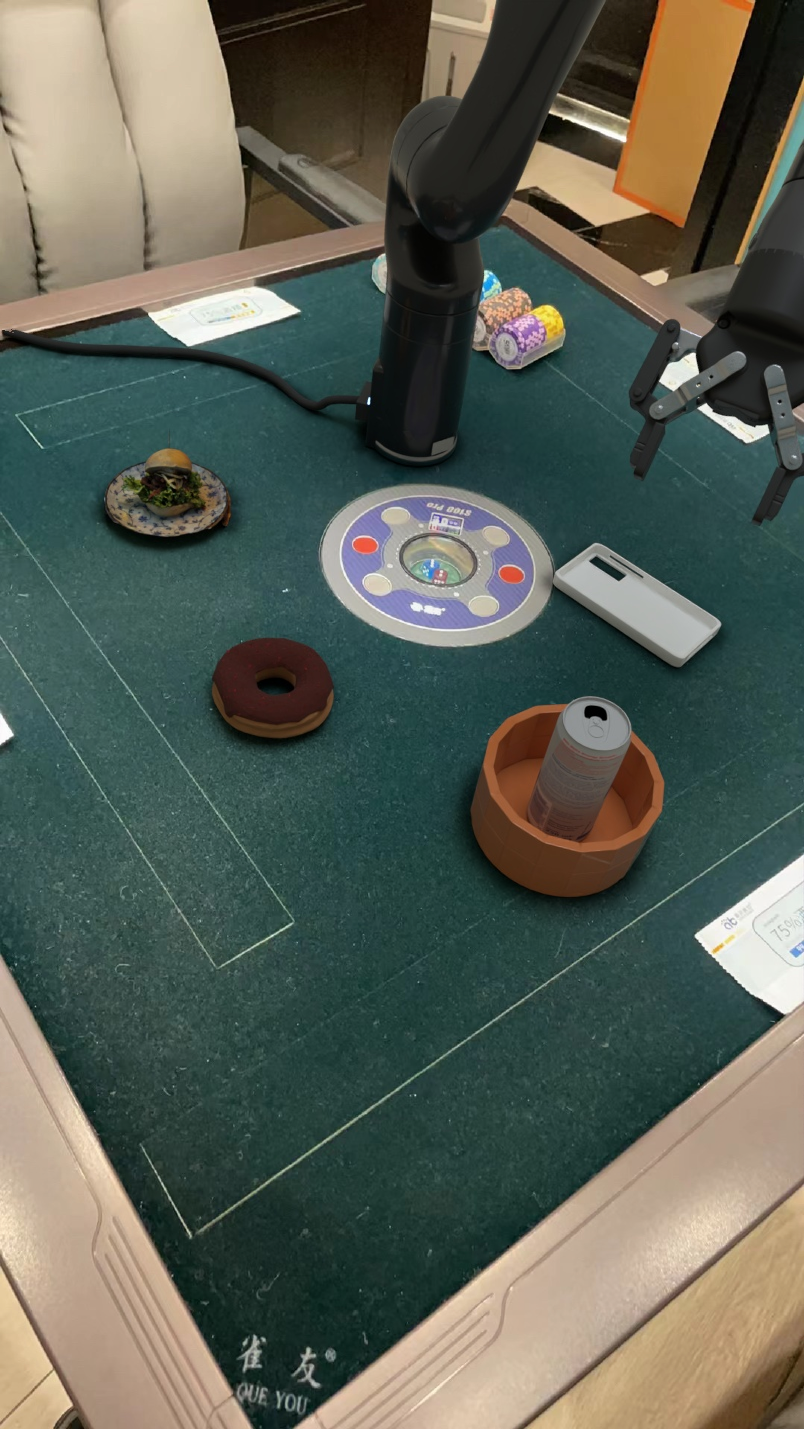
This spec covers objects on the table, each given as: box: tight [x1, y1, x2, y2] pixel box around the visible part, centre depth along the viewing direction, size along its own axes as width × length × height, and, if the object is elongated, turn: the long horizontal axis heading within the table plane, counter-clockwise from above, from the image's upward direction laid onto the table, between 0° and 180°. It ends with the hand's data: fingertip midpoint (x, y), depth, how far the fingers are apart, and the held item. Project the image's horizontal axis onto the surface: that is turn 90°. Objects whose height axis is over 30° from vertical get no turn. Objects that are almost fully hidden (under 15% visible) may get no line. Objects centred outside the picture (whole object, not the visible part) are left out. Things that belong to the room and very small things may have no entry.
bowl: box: [470, 703, 665, 898], centre depth 81 cm, size 14×14×6 cm
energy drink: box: [527, 695, 632, 842], centre depth 79 cm, size 5×5×12 cm
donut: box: [211, 637, 335, 739], centre depth 87 cm, size 10×10×4 cm
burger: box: [103, 428, 232, 538], centre depth 100 cm, size 12×12×8 cm
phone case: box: [552, 542, 722, 668], centre depth 100 cm, size 7×1×15 cm
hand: (695, 500), depth 72 cm, fingers open, 8 cm apart
